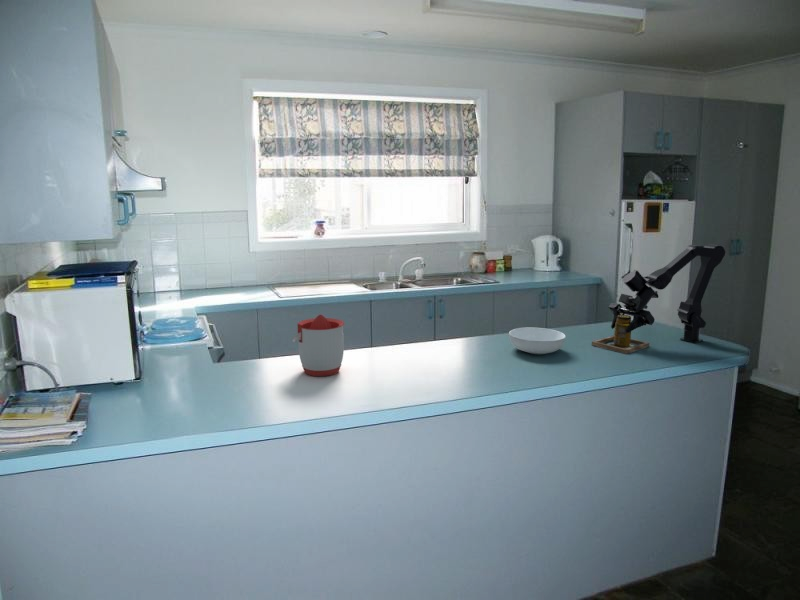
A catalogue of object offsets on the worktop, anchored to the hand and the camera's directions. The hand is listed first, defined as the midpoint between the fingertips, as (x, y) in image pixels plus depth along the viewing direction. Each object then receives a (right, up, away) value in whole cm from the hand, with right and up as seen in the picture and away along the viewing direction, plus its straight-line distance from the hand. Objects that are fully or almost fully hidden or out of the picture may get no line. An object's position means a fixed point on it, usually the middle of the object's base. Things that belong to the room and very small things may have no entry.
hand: (619, 330), depth 237 cm
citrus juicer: (-112, -13, -29) cm, 117 cm away
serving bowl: (-33, -8, -4) cm, 34 cm away
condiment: (+1, -7, +2) cm, 7 cm away
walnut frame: (+1, -6, +2) cm, 7 cm away
